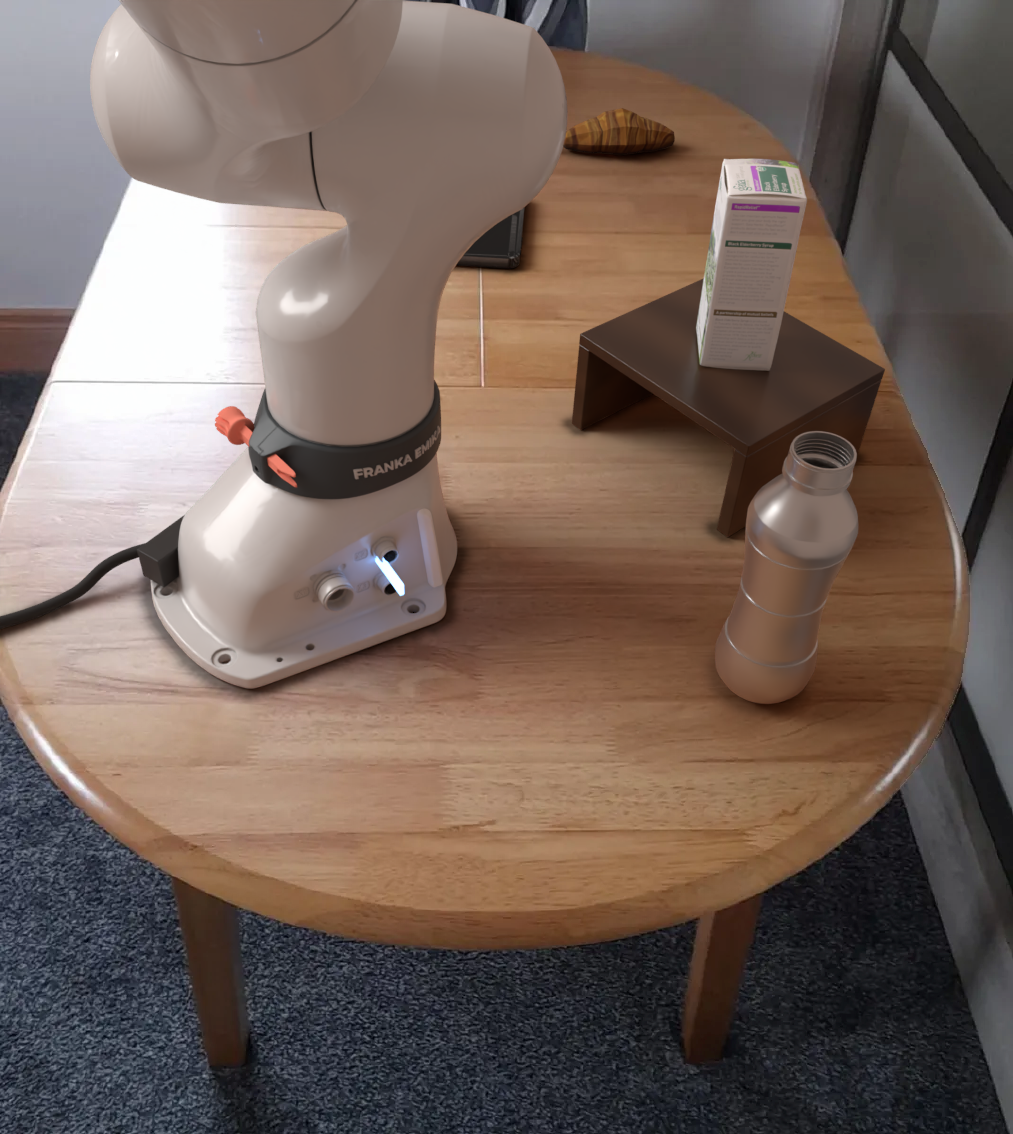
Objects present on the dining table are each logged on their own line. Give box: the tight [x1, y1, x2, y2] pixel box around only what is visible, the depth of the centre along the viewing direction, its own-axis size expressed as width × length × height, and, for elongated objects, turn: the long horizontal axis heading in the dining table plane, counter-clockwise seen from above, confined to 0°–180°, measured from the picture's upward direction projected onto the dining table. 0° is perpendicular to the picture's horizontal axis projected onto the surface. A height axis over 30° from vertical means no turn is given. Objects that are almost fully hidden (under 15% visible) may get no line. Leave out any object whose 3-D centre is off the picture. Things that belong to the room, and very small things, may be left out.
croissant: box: [563, 107, 676, 156], centre depth 136 cm, size 14×7×5 cm, turn 98°
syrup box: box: [696, 158, 808, 371], centre depth 87 cm, size 6×6×14 cm
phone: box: [456, 206, 526, 269], centre depth 122 cm, size 8×1×15 cm
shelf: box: [571, 277, 886, 538], centre depth 95 cm, size 16×18×9 cm
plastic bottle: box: [714, 431, 859, 705], centre depth 72 cm, size 6×7×20 cm
